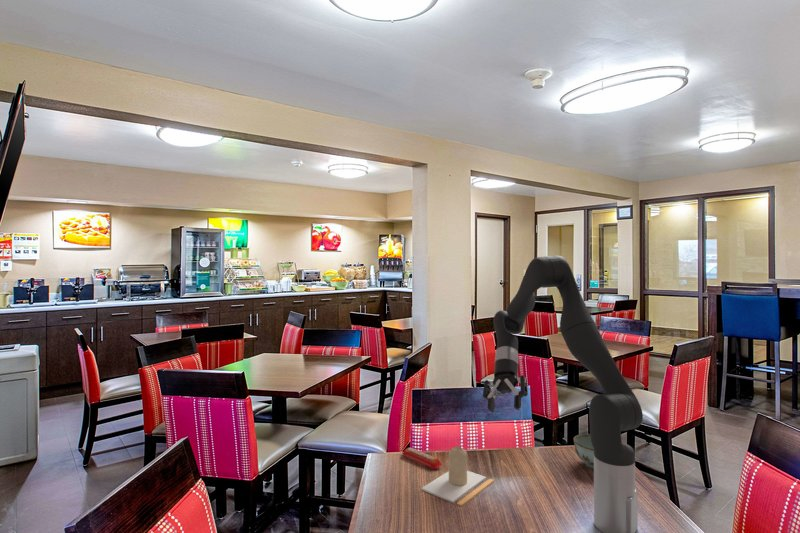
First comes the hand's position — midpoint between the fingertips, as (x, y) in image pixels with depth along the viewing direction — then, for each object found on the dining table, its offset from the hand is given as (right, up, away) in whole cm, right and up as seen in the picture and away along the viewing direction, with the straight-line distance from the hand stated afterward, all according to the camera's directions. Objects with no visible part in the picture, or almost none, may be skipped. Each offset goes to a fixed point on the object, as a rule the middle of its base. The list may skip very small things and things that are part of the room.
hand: (503, 410), depth 137 cm
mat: (-16, -21, -4) cm, 26 cm away
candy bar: (-25, -21, +11) cm, 34 cm away
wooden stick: (-10, -21, -9) cm, 25 cm away
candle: (-15, -20, -4) cm, 25 cm away
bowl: (+31, -21, +7) cm, 38 cm away
